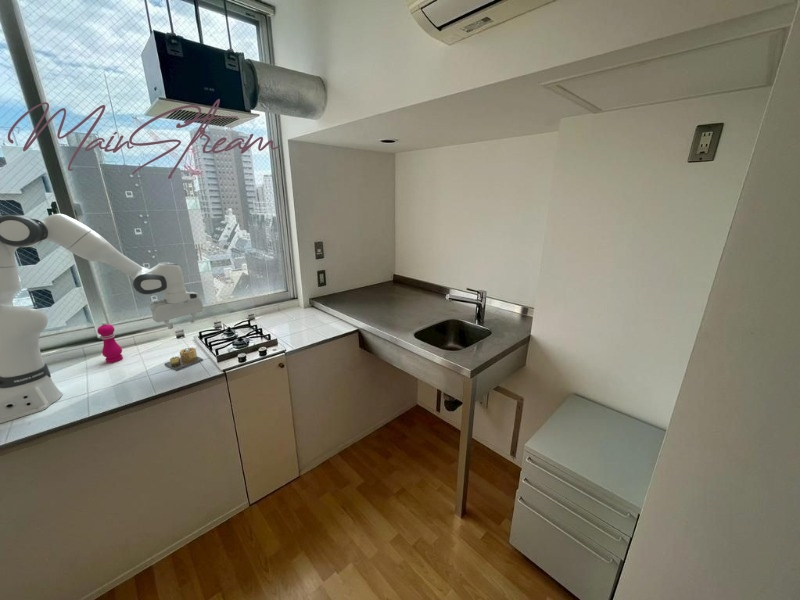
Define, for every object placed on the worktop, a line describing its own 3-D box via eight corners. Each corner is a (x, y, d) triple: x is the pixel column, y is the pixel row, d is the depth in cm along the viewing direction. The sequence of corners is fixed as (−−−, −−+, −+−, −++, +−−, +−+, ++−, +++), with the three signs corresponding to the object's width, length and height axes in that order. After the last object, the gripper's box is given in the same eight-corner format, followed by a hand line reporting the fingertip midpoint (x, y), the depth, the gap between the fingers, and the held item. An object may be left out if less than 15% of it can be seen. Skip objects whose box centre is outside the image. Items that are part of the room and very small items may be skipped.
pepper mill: (112, 364, 151) (101, 325, 145) (100, 362, 152) (89, 324, 147) (128, 357, 158) (117, 319, 152) (116, 356, 159) (105, 318, 153)
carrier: (176, 371, 144) (173, 358, 142) (164, 365, 150) (161, 352, 148) (203, 360, 154) (200, 348, 152) (191, 355, 159) (188, 343, 158)
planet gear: (186, 362, 150) (184, 354, 149) (179, 359, 153) (177, 351, 152) (199, 357, 155) (197, 349, 153) (192, 355, 158) (190, 346, 156)
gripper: (152, 303, 134) (159, 333, 138) (202, 293, 151) (207, 320, 155) (146, 301, 137) (153, 331, 141) (195, 291, 154) (200, 317, 158)
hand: (181, 325), depth 148 cm, fingers open, 8 cm apart
